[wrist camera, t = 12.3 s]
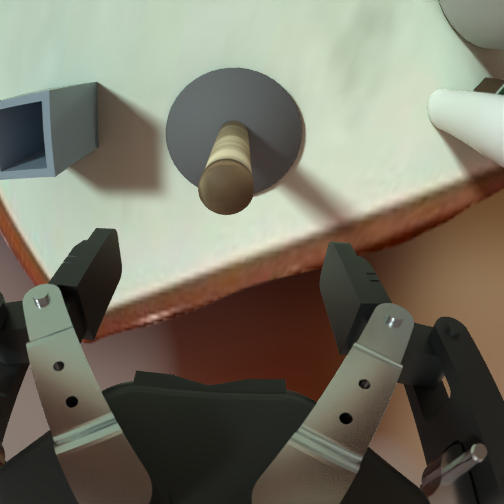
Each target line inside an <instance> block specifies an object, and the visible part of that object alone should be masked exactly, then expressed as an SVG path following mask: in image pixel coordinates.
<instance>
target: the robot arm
mask: <svg viewBox="0 0 504 504" xmlns="http://www.w3.org/2000/svg"><path fill="white" fill-rule="evenodd" d="M121 273H122V262H121V256H120V249H119V242H118V235H117V231H116V230H115V229H106V228H96V229H95V230H94V232H93V233H92V235H91V236H90V237H89V239H88V240H83V241H82V242H81V243H79V244H78V245H76V246H75V247H74V248H73V249H72V250H71V252H70V253H69V255H68V257H66V259H65V260H64V262H63V263H62V264H61V266H60V267H59V269H58V270H57V271H56V273H55V274H54V276H53V277H52V279H51V280H50V282H49V283H48V284H42V285H38V286H36V287H34V288H32V289H31V290H30V291H28V293H26V295H25V297H24V299H23V301H17V302H10V303H6V302H5V299H4V297H3V295H2V294H1V292H0V504H504V401H503V398H502V396H501V394H500V392H499V390H498V388H497V386H496V384H495V382H494V379H493V377H492V375H491V373H490V371H489V369H488V367H487V365H486V363H485V361H484V360H483V357H482V356H481V354H480V352H479V350H478V348H477V346H476V344H475V343H474V341H473V339H472V337H471V335H470V334H469V332H468V330H467V329H466V327H465V326H464V325H463V324H462V323H461V322H459V321H458V320H456V319H454V318H451V317H440V318H439V319H438V320H437V321H436V323H435V325H434V326H433V327H430V326H425V325H421V324H417V323H414V320H413V317H412V316H411V314H410V313H409V312H408V311H407V310H405V309H404V308H403V307H401V306H398V305H396V304H392V302H391V300H390V299H389V297H388V295H387V293H386V291H385V289H384V287H383V286H382V284H381V282H379V278H378V277H377V275H375V274H376V273H375V271H374V269H373V268H372V266H371V265H370V263H368V262H367V261H366V260H365V259H364V258H363V257H361V256H357V255H356V253H355V251H354V249H353V248H352V246H351V244H350V243H342V242H330V243H329V245H328V248H327V252H326V256H325V260H324V264H323V268H322V272H321V276H320V290H321V294H322V297H323V301H324V304H325V307H326V310H327V313H328V317H329V320H330V323H331V326H332V330H333V333H334V336H335V340H336V343H337V347H338V350H339V353H340V355H347V357H346V358H345V360H344V362H343V363H342V365H341V366H340V368H339V370H338V371H337V373H336V374H335V376H334V378H333V379H332V381H331V383H330V384H329V385H328V387H327V389H326V390H325V392H324V393H323V395H322V396H321V398H320V399H319V401H318V402H315V401H314V400H312V399H310V398H308V397H306V396H304V395H302V394H299V393H296V392H293V391H289V390H286V384H285V379H246V380H240V381H235V382H229V383H223V384H217V385H205V384H201V383H198V382H194V381H191V380H188V379H184V378H181V377H178V376H175V375H171V374H161V373H152V372H143V371H136V374H135V378H134V381H130V382H125V383H121V384H117V385H114V386H112V387H109V388H107V389H105V390H103V391H102V392H101V390H100V388H99V386H98V384H97V382H96V380H95V377H94V375H93V373H92V371H91V369H90V367H89V364H88V362H87V360H86V357H85V355H84V353H83V350H82V348H81V345H80V343H81V341H82V339H87V340H94V339H95V336H96V334H97V331H98V329H99V327H100V324H101V322H102V319H103V317H104V315H105V312H106V310H107V308H108V305H109V303H110V301H111V298H112V296H113V294H114V292H115V290H116V287H117V285H118V283H119V281H120V278H121ZM29 364H31V369H32V373H33V377H34V380H35V384H36V388H37V391H38V394H39V398H40V401H41V405H42V408H43V411H44V414H45V417H46V419H47V423H48V426H49V428H50V430H49V431H48V432H47V433H45V434H44V435H43V436H41V437H40V438H38V439H37V440H36V441H34V442H33V443H32V444H30V445H29V446H28V447H26V448H25V449H24V450H22V451H21V452H19V453H18V454H17V455H15V456H14V457H13V458H11V459H10V460H9V461H7V462H6V461H5V451H4V448H3V445H2V442H3V438H4V435H5V431H6V428H7V425H8V422H9V418H10V415H11V412H12V409H13V406H14V403H15V401H16V398H17V395H18V392H19V390H20V387H21V384H22V381H23V379H24V376H25V374H26V371H27V369H28V366H29ZM444 376H445V377H446V379H447V382H448V384H449V387H450V390H451V395H450V399H449V397H448V394H447V392H446V389H445V387H444V384H443V381H442V379H443V377H444ZM396 383H402V384H404V387H405V390H406V393H407V396H408V399H409V402H410V406H411V409H412V412H413V416H414V419H415V423H416V426H417V429H418V433H419V437H420V440H421V444H422V448H423V452H424V456H425V460H426V464H427V467H426V468H425V470H424V471H423V474H422V480H421V481H422V484H421V485H420V488H418V487H417V486H416V485H415V484H414V483H412V482H411V481H410V480H408V479H407V478H406V477H405V476H403V475H402V474H401V473H400V472H398V471H397V470H396V469H395V468H394V467H392V466H391V465H390V464H389V463H387V462H386V461H385V460H384V459H382V458H381V457H380V456H379V455H378V454H376V453H375V452H374V451H373V450H372V449H371V448H369V447H368V446H369V444H370V442H371V440H372V437H373V436H374V434H375V432H376V430H377V427H378V426H379V423H380V421H381V419H382V417H383V414H384V412H385V410H386V408H387V405H388V403H389V401H390V398H391V396H392V393H393V391H394V389H395V386H396Z"/></svg>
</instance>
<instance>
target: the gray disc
mask: <svg viewBox="0 0 504 504" xmlns="http://www.w3.org/2000/svg"><path fill="white" fill-rule="evenodd" d="M228 121H239V122H241V123H243V124H244V125H245V126H246V128H247V130H248V137H249V148H250V160H251V171H252V177H253V184H254V194H255V193H257V192H260V191H262V190H264V189H266V188H268V187H270V186H271V185H273V184H274V183H276V182H277V181H278V180H279V179H281V178H282V177H283V176H284V175H285V173H286V172H287V171H288V170H289V168H290V167H291V166H292V164H293V162H294V160H295V158H296V156H297V154H298V151H299V148H300V143H301V133H302V131H301V121H300V116H299V113H298V110H297V108H296V105H295V104H294V102H293V100H292V98H291V97H290V95H289V94H288V93H287V91H286V90H285V89H284V88H283V87H282V86H281V85H279V84H278V83H277V82H276V81H274V80H273V79H271V78H270V77H268V76H266V75H264V74H262V73H259V72H257V71H253V70H249V69H243V68H225V69H219V70H215V71H212V72H209V73H207V74H204V75H202V76H200V77H199V78H197V79H195V80H194V81H192V82H191V83H190V84H189V85H187V86H186V87H185V88H184V89H183V91H182V92H181V93H180V94H179V95H178V97H177V98H176V100H175V101H174V103H173V105H172V107H171V110H170V112H169V115H168V119H167V124H166V141H167V147H168V150H169V153H170V156H171V158H172V160H173V162H174V164H175V166H176V167H177V169H178V170H179V171H180V173H181V174H182V175H183V176H184V177H185V178H186V179H187V180H188V181H190V182H191V183H192V184H194V185H195V186H197V187H198V186H199V181H200V179H201V176H202V173H203V171H204V170H205V167H206V165H207V162H208V159H209V156H210V154H211V151H212V148H213V146H214V143H215V141H216V138H217V135H218V133H219V130H220V128H221V126H222V125H223V124H224V123H226V122H228Z"/></svg>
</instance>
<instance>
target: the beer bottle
mask: <svg viewBox="0 0 504 504" xmlns="http://www.w3.org/2000/svg"><path fill="white" fill-rule="evenodd" d="M474 91H475V92H485V93H493V94H500V95H504V80H499V79H494V78H485V79H484V80H483V81H482V82H481V83H480V84H479V85H478V86H477V87H476V88H475V89H474Z"/></svg>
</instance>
